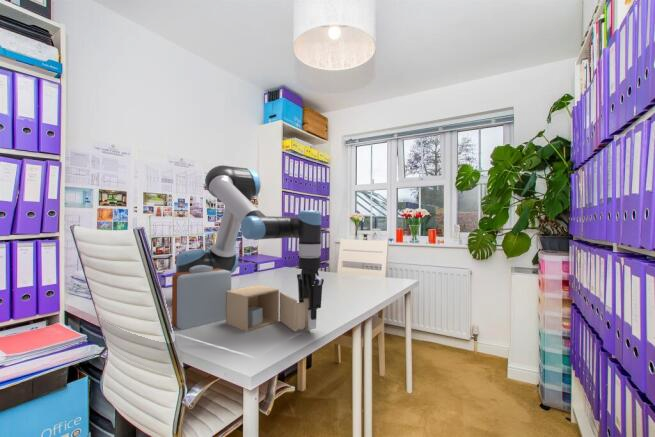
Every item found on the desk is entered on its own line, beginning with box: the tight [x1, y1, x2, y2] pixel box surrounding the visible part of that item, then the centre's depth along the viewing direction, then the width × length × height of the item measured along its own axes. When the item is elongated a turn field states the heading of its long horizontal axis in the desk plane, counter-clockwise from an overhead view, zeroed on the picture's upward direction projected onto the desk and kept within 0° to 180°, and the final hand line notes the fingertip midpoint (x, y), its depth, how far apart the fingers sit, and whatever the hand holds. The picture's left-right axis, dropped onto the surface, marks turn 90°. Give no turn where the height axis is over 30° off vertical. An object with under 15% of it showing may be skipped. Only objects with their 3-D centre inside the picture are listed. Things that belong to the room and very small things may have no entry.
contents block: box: [248, 306, 263, 326], centre depth 111 cm, size 5×5×5 cm
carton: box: [225, 284, 280, 332], centre depth 112 cm, size 12×14×12 cm
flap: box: [279, 291, 310, 332], centre depth 108 cm, size 6×15×10 cm, turn 30°
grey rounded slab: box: [171, 265, 232, 331], centre depth 113 cm, size 18×9×21 cm, turn 134°
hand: (309, 327), depth 104 cm, fingers closed on flap, 3 cm apart
